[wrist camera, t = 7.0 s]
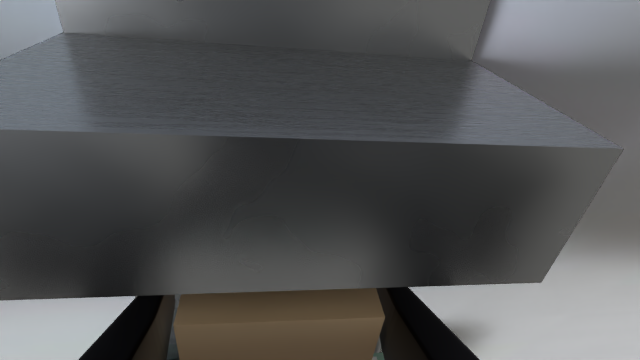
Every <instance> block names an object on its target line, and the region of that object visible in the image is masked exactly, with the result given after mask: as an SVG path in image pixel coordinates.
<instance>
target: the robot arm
mask: <svg viewBox="0 0 640 360" xmlns="http://www.w3.org/2000/svg"><path fill="white" fill-rule="evenodd" d="M376 290H377V293H378V296H379V299H380V302H381V306H382V309H383V312H384V315H385V319H384V322H383V326H382V329H381V332H380V335H379V337H380V342H381V348H382V352H383V356H384V359H385V360H479V359H478V358H477V357H476V356H475V355H474V354H473V353H472V352H471V350H470V349H469V348H468V347H467V346H466V345H465V344H464V343H463V342H462V341H461V340H460V339H459V338H458V337H457V336H456V335H455V334H454V333H453V332H452V331H451V330H450V329H449V328H448V327H447V326H446V325H445V324H444V323H443V322H442V321H441V320H440V319H439V318H438V317H437V316H436V315H435V314H434V313H433V312H432V311H431V310H430V309H429V308H428V307H427V306H426V305H425V304H424V303H423V302H422V301H421V300H420V299H419V298H418V297H417V296H416V295H415V294H414V293H413V292H412V291H411V290H410V289H409V288H408V287H390V288H376ZM174 309H175V295H147V296H137V297H136V298H135V299H134V300H133V301H132V302H131V303H130V304H129V306H128V307H127V308H126V309H125V310H124V311H123V312H122V313H121V314H120V315H119V316H118V317H117V319H116V320H115V321H114V322H113V323H112V324H111V325H110V326H109V327H108V328H107V329H106V330H105V331H104V333H103V334H102V335H101V336H100V337H99V338H98V339H97V340H96V341H95V342H94V343H93V344H92V346H91V347H90V348H89V349H88V350H87V351H86V352H85V353H84V354H83V355H82V356H81V357H80V358H79V360H166V359H167V353H168V347H169V341H170V334H171V328H172V322H173V315H174Z"/></svg>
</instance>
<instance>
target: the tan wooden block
mask: <svg viewBox="0 0 640 360" xmlns="http://www.w3.org/2000/svg"><path fill="white" fill-rule="evenodd" d="M384 319H385V315H384V312H383V309H382V306H381V302H380V299H379V296H378V293H377V290H376V288H359V289H329V290H299V291H268V292H238V293H208V294H181V297H180V301H179V305H178V309H177V313H176V317H175V321H174V325H173V326H174V332H175V337H176V343H177V348H178V353H179V359H180V360H372V358H373V354H374V351H375V348H376V345H377V342H378V338H379V335H380V332H381V329H382V326H383V322H384Z"/></svg>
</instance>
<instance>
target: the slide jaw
mask: <svg viewBox="0 0 640 360" xmlns="http://www.w3.org/2000/svg"><path fill="white" fill-rule="evenodd" d="M372 360H385V359H384V356H383V353H374V354H373V358H372Z"/></svg>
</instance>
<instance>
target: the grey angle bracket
mask: <svg viewBox="0 0 640 360" xmlns="http://www.w3.org/2000/svg"><path fill="white" fill-rule="evenodd" d="M490 1H491V0H55V3H56V7H57V10H58V14H59V18H60V21H61V25H62V29H63V33H61V34H59V35H56V36H54V37H52V38H50V39H47V40H45V41H43V42H40V43H38V44H36V45H34V46H31V47H29V48H27V49H25V50H22V51H20V52H18V53H15V54H13V55H11V56H9V57H6V58H4V59H2V60H0V300H25V299H56V298H86V297H117V296H135V298H136V297H137V296H147V295H175V309H174V315H173V322H172V328H171V334H170V341H169V347H168V353H167V359H166V360H180V359H179V353H178V348H177V343H176V337H175V332H174V326H173V325H174V321H175V317H176V313H177V309H178V305H179V301H180V297H181V294H208V293H238V292H268V291H299V290H329V289H359V288H390V287H420V286H450V285H481V284H511V283H541V282H542V280H543V279H544V277H545V276H546V274H547V272H548V271H549V269H550V267H551V266H552V264H553V263H554V261H555V259H556V258H557V256H558V255H559V253H560V251H561V250H562V248H563V246H564V245H565V243H566V242H567V240H568V238H569V237H570V235H571V233H572V232H573V230H574V229H575V227H576V225H577V224H578V222H579V221H580V219H581V217H582V216H583V214H584V212H585V211H586V209H587V208H588V206H589V204H590V203H591V201H592V199H593V198H594V196H595V195H596V193H597V191H598V190H599V188H600V187H601V185H602V183H603V182H604V180H605V178H606V177H607V175H608V174H609V172H610V170H611V169H612V167H613V165H614V164H615V162H616V161H617V159H618V157H619V156H620V154H621V152H622V151H623V148H622V147H620V146H618V145H616V144H615V143H613V142H611V141H610V140H608V139H606V138H604V137H603V136H601V135H599V134H597V133H596V132H594V131H592V130H591V129H589V128H587V127H585V126H584V125H582V124H580V123H578V122H577V121H575V120H573V119H572V118H570V117H568V116H566V115H565V114H563V113H561V112H559V111H558V110H556V109H554V108H553V107H551V106H549V105H547V104H546V103H544V102H542V101H540V100H539V99H537V98H535V97H534V96H532V95H530V94H528V93H527V92H525V91H523V90H521V89H520V88H518V87H516V86H515V85H513V84H511V83H509V82H508V81H506V80H504V79H502V78H501V77H499V76H497V75H496V74H494V73H492V72H490V71H489V70H487V69H485V68H483V67H482V66H480V65H478V64H477V63H475V62H473V61H472V58H473V55H474V51H475V48H476V45H477V42H478V39H479V35H480V32H481V29H482V26H483V23H484V20H485V16H486V13H487V10H488V7H489V4H490ZM380 350H381V342H380V337H379V338H378V342H377V345H376V348H375V351H374V353H380Z"/></svg>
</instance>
